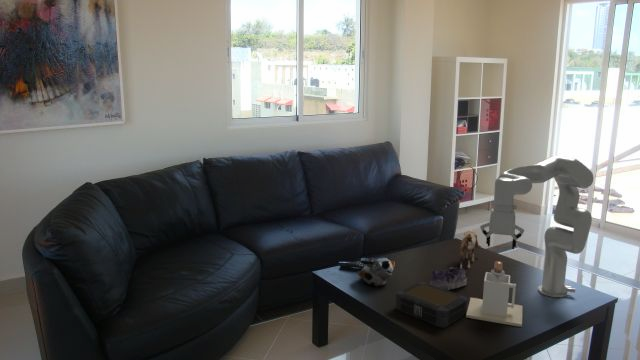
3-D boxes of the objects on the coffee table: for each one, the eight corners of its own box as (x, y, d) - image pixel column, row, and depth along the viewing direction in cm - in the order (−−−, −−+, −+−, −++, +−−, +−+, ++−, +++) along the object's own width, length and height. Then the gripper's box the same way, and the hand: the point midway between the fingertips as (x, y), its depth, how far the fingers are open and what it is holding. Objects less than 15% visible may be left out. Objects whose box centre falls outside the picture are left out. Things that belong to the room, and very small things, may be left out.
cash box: (393, 309, 222) (393, 293, 220) (420, 295, 236) (420, 280, 234) (442, 330, 204) (443, 312, 203) (468, 313, 218) (469, 297, 216)
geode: (442, 296, 235) (440, 275, 233) (424, 290, 244) (422, 270, 243) (472, 285, 245) (470, 265, 244) (454, 280, 255) (452, 260, 254)
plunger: (505, 305, 220) (509, 260, 216) (504, 313, 213) (508, 267, 209) (486, 302, 223) (489, 258, 219) (484, 310, 216) (488, 264, 212)
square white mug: (522, 308, 223) (525, 274, 219) (521, 326, 206) (525, 290, 203) (470, 299, 231) (472, 266, 227) (466, 317, 214) (468, 282, 211)
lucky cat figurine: (370, 272, 262) (386, 248, 258) (388, 289, 254) (404, 265, 250) (351, 273, 249) (367, 247, 245) (370, 291, 241) (386, 265, 237)
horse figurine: (469, 275, 258) (472, 237, 254) (454, 272, 262) (456, 234, 258) (480, 256, 285) (483, 221, 281) (467, 254, 289) (469, 219, 285)
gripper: (525, 207, 209) (523, 246, 213) (482, 203, 215) (480, 241, 219) (525, 212, 202) (522, 252, 206) (480, 208, 209) (478, 247, 212)
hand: (500, 246), depth 213 cm, fingers open, 9 cm apart
